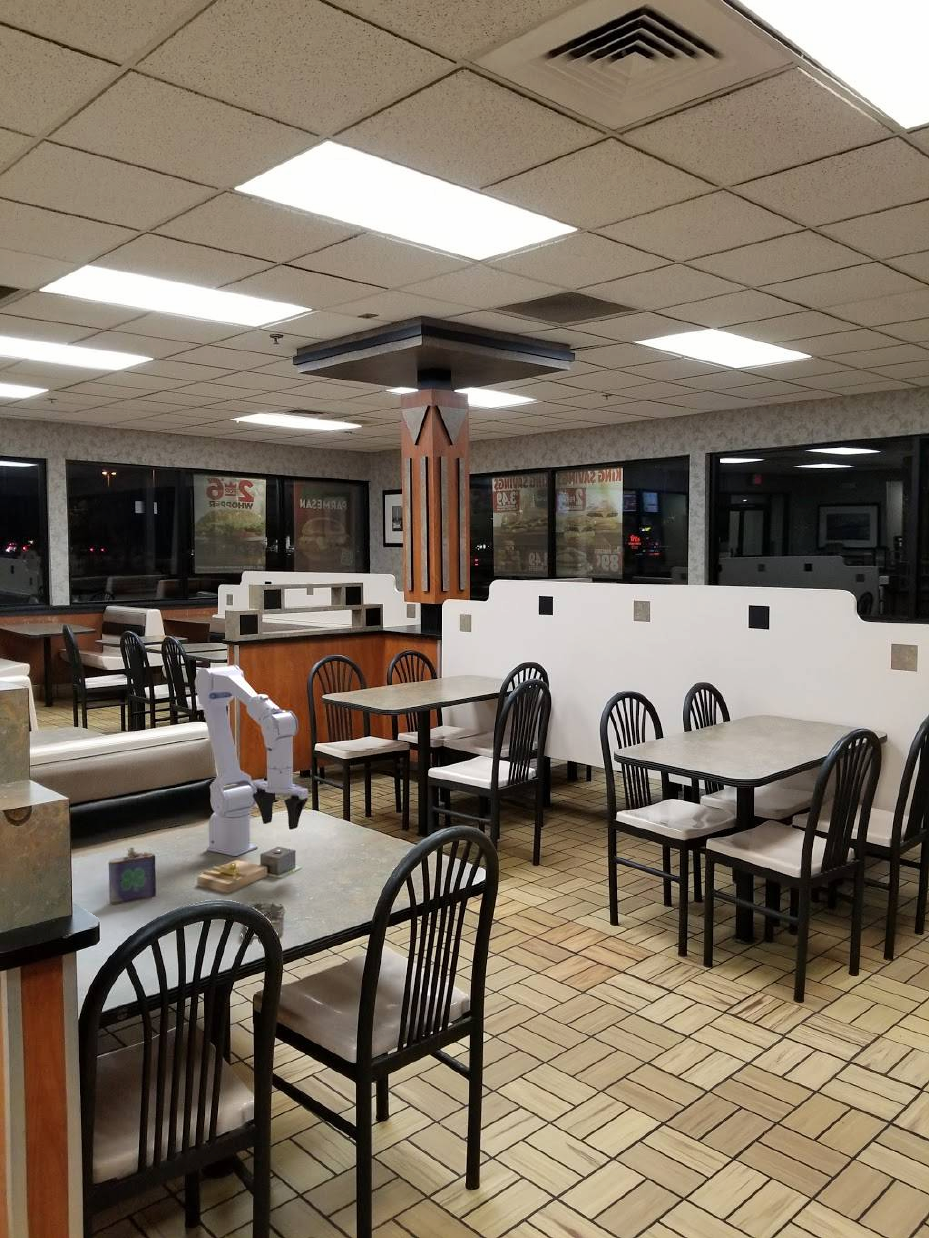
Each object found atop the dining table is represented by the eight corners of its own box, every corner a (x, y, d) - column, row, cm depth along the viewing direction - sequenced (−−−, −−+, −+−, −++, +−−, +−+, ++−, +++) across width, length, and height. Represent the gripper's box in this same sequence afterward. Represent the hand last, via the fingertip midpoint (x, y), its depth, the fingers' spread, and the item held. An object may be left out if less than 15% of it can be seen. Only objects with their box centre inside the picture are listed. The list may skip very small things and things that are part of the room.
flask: (110, 905, 191) (109, 854, 190) (107, 901, 193) (106, 850, 192) (157, 897, 196) (156, 847, 195) (154, 893, 198) (153, 843, 197)
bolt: (219, 875, 203) (219, 862, 202) (224, 873, 204) (224, 860, 204) (233, 878, 201) (233, 866, 201) (238, 876, 202) (238, 863, 202)
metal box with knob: (260, 871, 210) (260, 851, 210) (278, 863, 215) (278, 844, 215) (277, 875, 208) (277, 855, 207) (295, 867, 213) (295, 848, 213)
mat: (256, 872, 211) (256, 870, 211) (277, 863, 217) (277, 861, 217) (280, 877, 207) (280, 876, 207) (301, 868, 213) (301, 867, 213)
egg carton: (282, 939, 176) (282, 918, 176) (241, 941, 175) (241, 920, 175) (286, 916, 187) (286, 896, 186) (248, 918, 186) (247, 898, 185)
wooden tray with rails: (197, 885, 202) (197, 873, 202) (236, 868, 213) (236, 857, 213) (228, 893, 198) (228, 881, 198) (267, 875, 208) (267, 864, 208)
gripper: (243, 765, 212) (243, 824, 213) (293, 774, 204) (293, 835, 206) (264, 759, 218) (265, 816, 219) (314, 767, 210) (314, 827, 212)
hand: (280, 825), depth 213 cm, fingers open, 7 cm apart
